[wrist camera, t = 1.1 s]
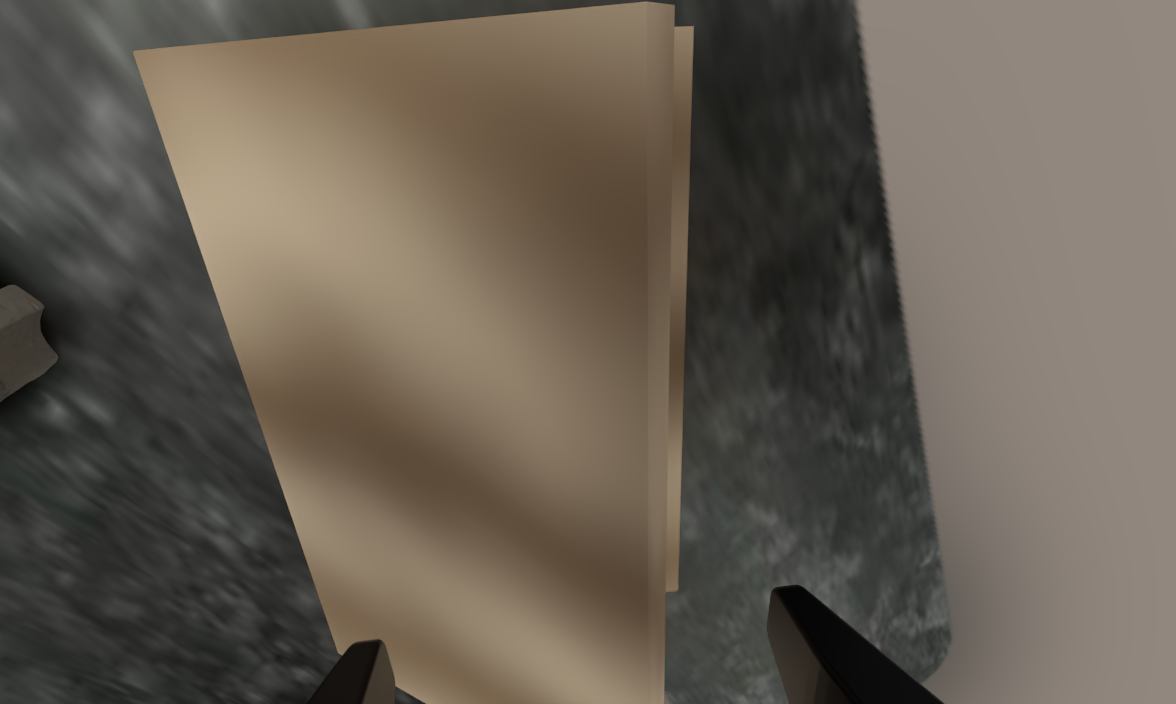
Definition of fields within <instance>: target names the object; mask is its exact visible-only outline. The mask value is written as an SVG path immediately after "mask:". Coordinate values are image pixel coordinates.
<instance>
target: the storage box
mask: <svg viewBox="0 0 1176 704" xmlns="http://www.w3.org/2000/svg"><path fill="white" fill-rule="evenodd" d="M693 35H694V26H684V27H674V85H673V149H672V214H671V279H670V344H669V408H668V473H667V538H666V592H671V591H678V571H679V535H680V499H681V464H682V428H683V392H684V356H685V321H686V285H687V249H688V213H689V178H690V142H691V106H692V71H693Z"/></svg>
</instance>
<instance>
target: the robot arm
mask: <svg viewBox="0 0 1176 704" xmlns="http://www.w3.org/2000/svg"><path fill="white" fill-rule="evenodd" d="M767 632H768V638H769V642H770V645H771V648H772V652H773V655H774V658H775V661H776V664H777V667H778V670H779V673H780V677H781V680H782V683H783V686H784V689H785V692H786V695H787V698H788V701H789V704H944V703H943V702H942V701H941V700H939V699H938V698H937V697H936V696H935V695H933V694H932V693H931V692H930V691H929V690H927V689H926V688H925V687H924V686H923V685H921V684H920V683H919V682H918V681H917V680H915V679H914V678H913V677H912V676H910V675H909V674H908V673H907V672H906V671H904V670H903V669H902V668H901V667H900V666H898V665H897V664H896V663H895V662H894V661H892V660H891V659H890V658H889V657H887V656H886V655H885V654H884V653H883V652H881V651H880V650H879V649H878V648H877V647H875V646H874V645H873V644H872V643H871V642H869V641H868V640H867V639H866V638H864V637H863V636H862V635H861V634H860V633H858V632H857V631H856V630H855V629H854V628H852V627H851V626H850V625H849V624H847V623H846V622H845V621H844V620H843V619H841V618H840V617H839V616H838V615H837V614H835V613H834V612H833V611H832V610H831V609H829V608H828V607H827V606H826V605H824V604H823V603H822V602H821V601H820V600H818V599H817V598H816V597H815V596H814V595H812V594H811V593H810V592H809V591H807V590H806V589H805V588H804V587H802V586H800V585H789V586H781V587H776V588H774V589H773V590H772V592H771V597H770V605H769V613H768V622H767ZM394 702H395V677H394V673H393V669H392V666H391V662H390V659H389V655H388V652H387V648H386V645H385V643H384V642H383V640H381V639H373V640H365V641H358V642H355V643H353V644H352V645H350V646H349V648H348V649H347V650H346V651H345V653H344V654H343V655H342V657H341V658H340V659H339V661H338V662H337V663H336V665H335V666H334V667H333V669H332V670H331V671H330V673H329V674H328V675H327V677H326V678H325V680H324V681H323V682H322V684H321V685H320V686H319V688H318V689H317V690H316V692H315V693H314V694H313V696H312V697H311V698H310V700H309V701H308V702H307V704H394Z"/></svg>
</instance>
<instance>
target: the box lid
mask: <svg viewBox="0 0 1176 704" xmlns="http://www.w3.org/2000/svg"><path fill="white" fill-rule="evenodd" d="M674 20H675V5H670V4H662V3H655V2H637V3H626V4H616V5H606V6H595V7H585V8H574V9H564V10H554V11H543V12H533V13H522V14H512V15H502V16H491V17H481V18H470V19H460V20H450V21H439V22H429V23H418V24H408V25H398V26H387V27H377V28H366V29H356V30H346V31H335V32H325V33H314V34H304V35H294V36H283V37H273V38H262V39H252V40H242V41H231V42H221V43H211V44H200V45H190V46H179V47H169V48H159V49H148V50H138V51H133V54H134V57H135V60H136V63H137V66H138V69H139V71H140V74H141V77H142V80H143V83H144V86H145V89H146V92H147V95H148V98H149V101H150V104H151V107H152V110H153V112H154V115H155V118H156V121H157V124H158V127H159V130H160V133H161V136H162V139H163V142H164V145H165V148H166V151H167V153H168V156H169V159H170V162H171V165H172V168H173V171H174V174H175V177H176V180H177V183H178V186H179V189H180V192H181V194H182V197H183V200H184V203H185V206H186V209H187V212H188V215H189V218H190V221H191V224H192V227H193V230H194V232H195V235H196V238H197V241H198V244H199V247H200V250H201V253H202V256H203V259H204V262H205V265H206V268H207V271H208V273H209V276H210V279H211V282H212V285H213V288H214V291H215V294H216V297H217V300H218V303H219V306H220V309H221V312H222V314H223V317H224V320H225V323H226V326H227V329H228V332H229V335H230V338H231V341H232V344H233V347H234V350H235V353H236V355H237V358H238V361H239V364H240V367H241V370H242V373H243V376H244V379H245V382H246V385H247V388H248V391H249V394H250V396H251V399H252V402H253V405H254V408H255V411H256V414H257V417H258V420H259V423H260V426H261V429H262V432H263V434H264V437H265V440H266V443H267V446H268V449H269V452H270V455H271V458H272V461H273V464H274V467H275V470H276V473H277V475H278V478H279V481H280V484H281V487H282V490H283V493H284V496H285V499H286V502H287V505H288V508H289V511H290V514H291V516H292V519H293V522H294V525H295V528H296V531H297V534H298V537H299V540H300V543H301V546H302V549H303V552H304V555H305V557H306V560H307V563H308V566H309V569H310V572H311V575H312V578H313V581H314V584H315V587H316V590H317V593H318V595H319V598H320V601H321V604H322V607H323V610H324V613H325V616H326V619H327V622H328V625H329V628H330V631H331V634H332V636H333V639H334V642H335V645H336V648H337V651H338V653H339V654H341V655H343V654H344V653H345V651H346V650H347V649H348V648H349V646H350V645H352V644H353V643H355V642H358V641H365V640H373V639H381V640H383V642H384V643H385V645H386V648H387V652H388V655H389V659H390V662H391V666H392V669H393V673H394V677H395V686H396V687H398V688H400V689H401V690H403V691H405V692H407V693H408V694H410V695H412V696H414V697H415V698H417V699H419V700H421V701H422V702H424V703H426V704H664V668H665V603H666V538H667V473H668V408H669V344H670V279H671V214H672V149H673V85H674Z"/></svg>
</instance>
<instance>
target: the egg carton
mask: <svg viewBox="0 0 1176 704" xmlns="http://www.w3.org/2000/svg"><path fill="white" fill-rule="evenodd" d="M44 308H45V307H44V305H43V304H42V303H41V302H40V301H38V300H37V299H35V298H34V297H32V296H31V295H30V294H28V293H27V292H25V291H24V290H22V289H21V288H19V287H18V286H16V285H8V286H6V287H4V288H1V289H0V402H1V401H2V400H3V399H5V398H6V397H7V396H9V395H11V394H12V393H14V392H15V391H17V390H18V389H20V388H21V387H22V386H24V385H25V384H27V383H28V382H30V381H32V380H34V379H36V378H38V377H39V376H41V375H43V374H44V373H45V372H46V371H47V370H48V369H49V368H50V367H51V366H52V365H53V364H55V363H56V362H57V360H58V358H59V356H58V355H57V354H56V353H55V352H54V350H53V349H52V348H51V347H50V346H49V345H48V343H47V342H46V340H45V338H44V336H43V335H42V333H41V330H40V318H41V315H42V312H43V310H44Z"/></svg>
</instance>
